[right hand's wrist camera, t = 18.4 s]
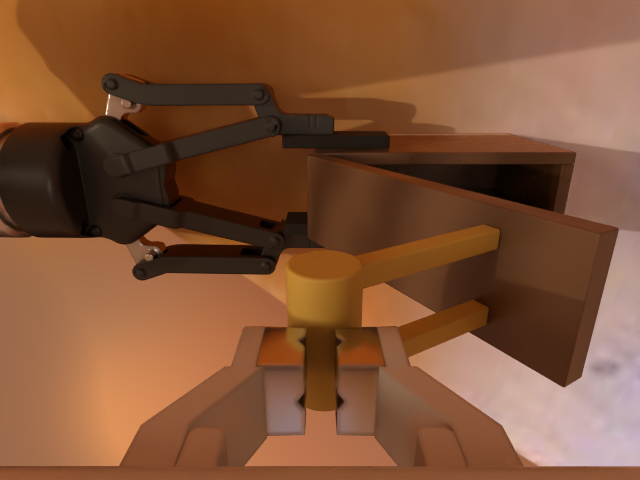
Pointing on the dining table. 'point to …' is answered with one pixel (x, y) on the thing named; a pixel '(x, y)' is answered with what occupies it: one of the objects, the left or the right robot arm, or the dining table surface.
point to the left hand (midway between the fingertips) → (383, 183)
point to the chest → (476, 165)
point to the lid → (444, 269)
